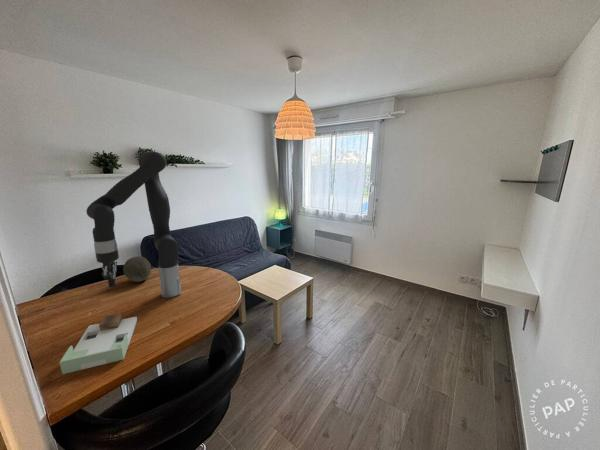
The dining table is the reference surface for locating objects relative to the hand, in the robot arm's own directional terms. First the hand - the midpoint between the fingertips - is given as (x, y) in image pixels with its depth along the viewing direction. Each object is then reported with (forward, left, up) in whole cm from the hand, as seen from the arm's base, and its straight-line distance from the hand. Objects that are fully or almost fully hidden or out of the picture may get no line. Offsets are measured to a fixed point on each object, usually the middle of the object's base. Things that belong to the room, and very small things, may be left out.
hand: (112, 285), depth 105 cm
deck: (0, +18, -16) cm, 24 cm away
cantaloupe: (-2, -37, -16) cm, 40 cm away
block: (0, +9, -14) cm, 17 cm away
